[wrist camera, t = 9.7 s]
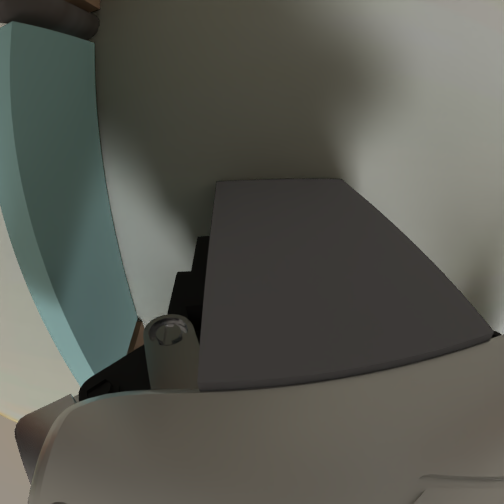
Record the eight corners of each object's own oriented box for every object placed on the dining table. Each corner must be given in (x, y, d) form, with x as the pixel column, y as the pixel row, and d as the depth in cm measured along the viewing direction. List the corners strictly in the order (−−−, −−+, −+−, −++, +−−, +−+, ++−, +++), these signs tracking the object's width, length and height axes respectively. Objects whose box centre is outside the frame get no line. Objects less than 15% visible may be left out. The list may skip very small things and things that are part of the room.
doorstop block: (216, 181, 11) (197, 382, 4) (341, 178, 12) (494, 331, 4) (226, 304, 14) (231, 493, 6) (327, 297, 15) (392, 465, 7)
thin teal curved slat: (70, 50, 8) (-17, 38, 3) (94, 42, 8) (12, 21, 3) (118, 318, 14) (88, 402, 9) (137, 318, 14) (112, 404, 10)
